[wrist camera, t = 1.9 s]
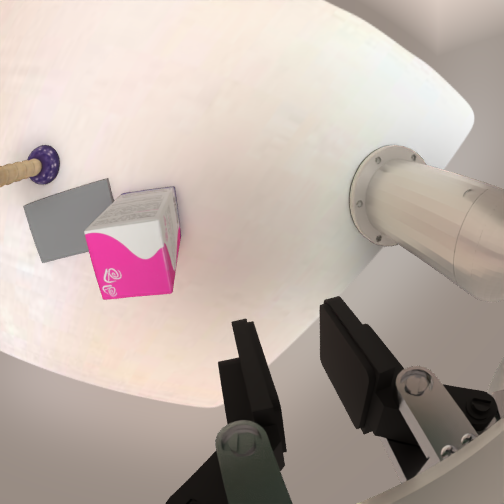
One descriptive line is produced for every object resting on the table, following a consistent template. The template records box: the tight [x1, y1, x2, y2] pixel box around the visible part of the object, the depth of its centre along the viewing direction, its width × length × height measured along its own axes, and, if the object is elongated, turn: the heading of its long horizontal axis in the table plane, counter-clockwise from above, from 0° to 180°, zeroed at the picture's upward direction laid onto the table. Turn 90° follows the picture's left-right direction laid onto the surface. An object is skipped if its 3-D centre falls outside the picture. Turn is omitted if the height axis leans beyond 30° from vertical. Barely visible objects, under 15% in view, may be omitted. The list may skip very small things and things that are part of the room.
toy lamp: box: [0, 145, 60, 187], centre depth 17 cm, size 5×5×17 cm
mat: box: [23, 178, 114, 263], centre depth 28 cm, size 11×7×1 cm, turn 99°
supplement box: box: [84, 187, 181, 300], centre depth 25 cm, size 6×6×12 cm
